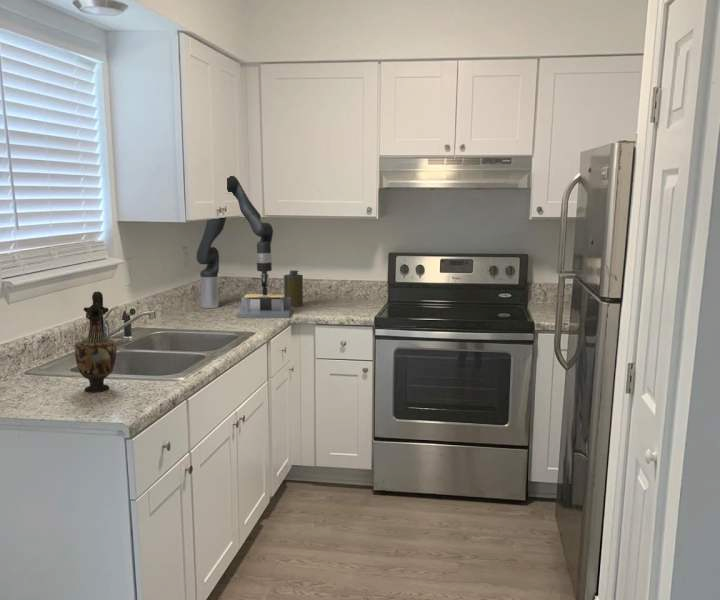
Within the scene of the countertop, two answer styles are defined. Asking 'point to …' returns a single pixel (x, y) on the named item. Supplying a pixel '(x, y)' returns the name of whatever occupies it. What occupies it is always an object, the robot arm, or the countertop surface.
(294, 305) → the canister
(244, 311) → the housing base
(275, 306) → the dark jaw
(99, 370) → the vase
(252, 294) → the lid
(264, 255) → the robot arm
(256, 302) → the silver jaw
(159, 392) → the countertop surface
